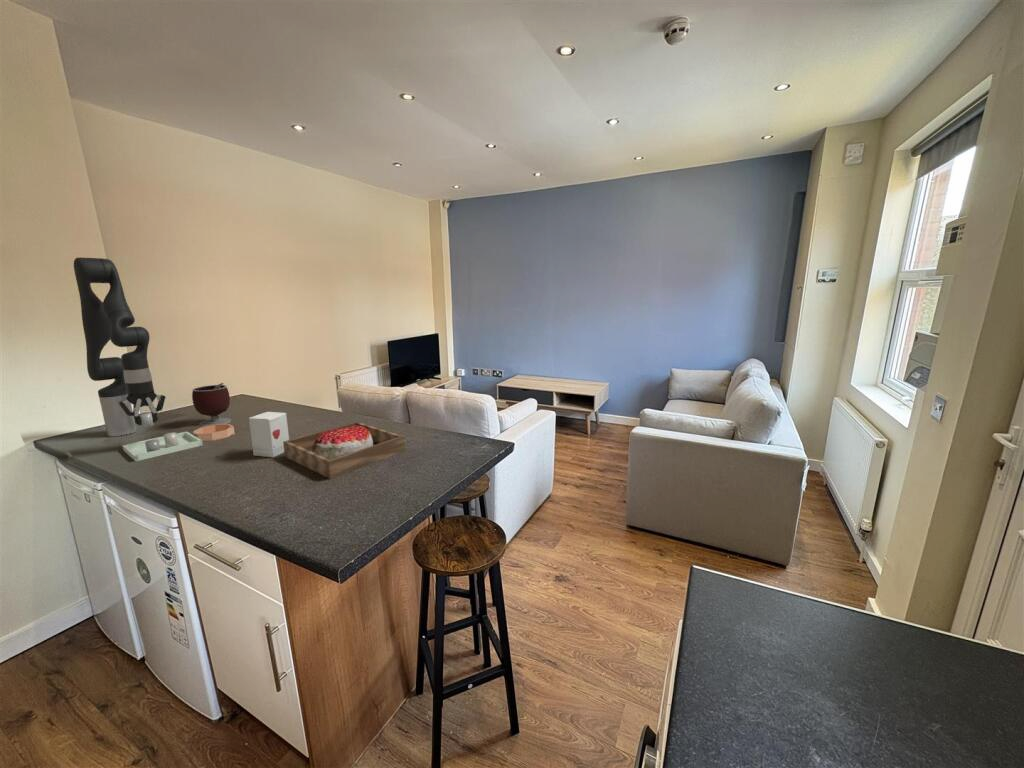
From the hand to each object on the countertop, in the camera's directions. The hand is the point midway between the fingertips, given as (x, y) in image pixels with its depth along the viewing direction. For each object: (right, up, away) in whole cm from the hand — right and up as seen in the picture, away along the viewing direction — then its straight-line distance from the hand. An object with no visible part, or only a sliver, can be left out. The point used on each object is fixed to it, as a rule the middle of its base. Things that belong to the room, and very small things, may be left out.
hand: (146, 423), depth 155 cm
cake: (+76, -12, -2) cm, 77 cm away
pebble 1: (0, -1, 0) cm, 1 cm away
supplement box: (+49, -11, -1) cm, 51 cm away
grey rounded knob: (+8, -11, -5) cm, 14 cm away
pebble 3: (+8, -9, +3) cm, 12 cm away
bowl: (+15, -8, +15) cm, 23 cm away
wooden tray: (+78, -11, -2) cm, 79 cm away
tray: (+6, -10, +1) cm, 12 cm away
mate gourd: (+2, -3, +34) cm, 35 cm away
